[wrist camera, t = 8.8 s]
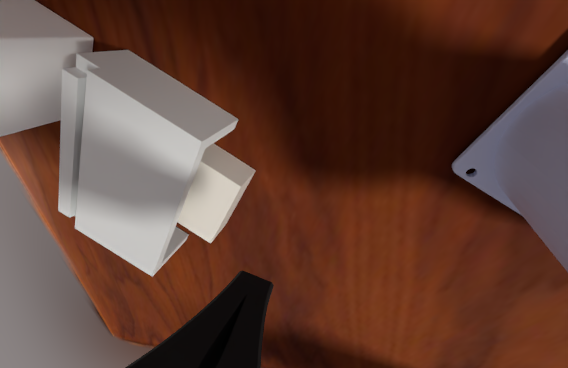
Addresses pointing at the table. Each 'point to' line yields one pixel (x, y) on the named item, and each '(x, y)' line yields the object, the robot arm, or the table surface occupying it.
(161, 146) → the slotted white box
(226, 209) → the cream rectangular beam
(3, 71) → the milk
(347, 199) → the table surface
